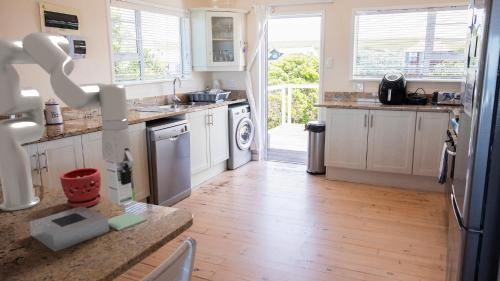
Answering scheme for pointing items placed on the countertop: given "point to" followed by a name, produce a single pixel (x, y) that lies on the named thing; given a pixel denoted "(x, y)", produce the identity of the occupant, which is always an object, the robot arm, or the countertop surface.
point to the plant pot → (81, 187)
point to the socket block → (69, 227)
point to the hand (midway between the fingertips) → (120, 181)
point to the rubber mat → (125, 221)
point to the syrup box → (119, 184)
